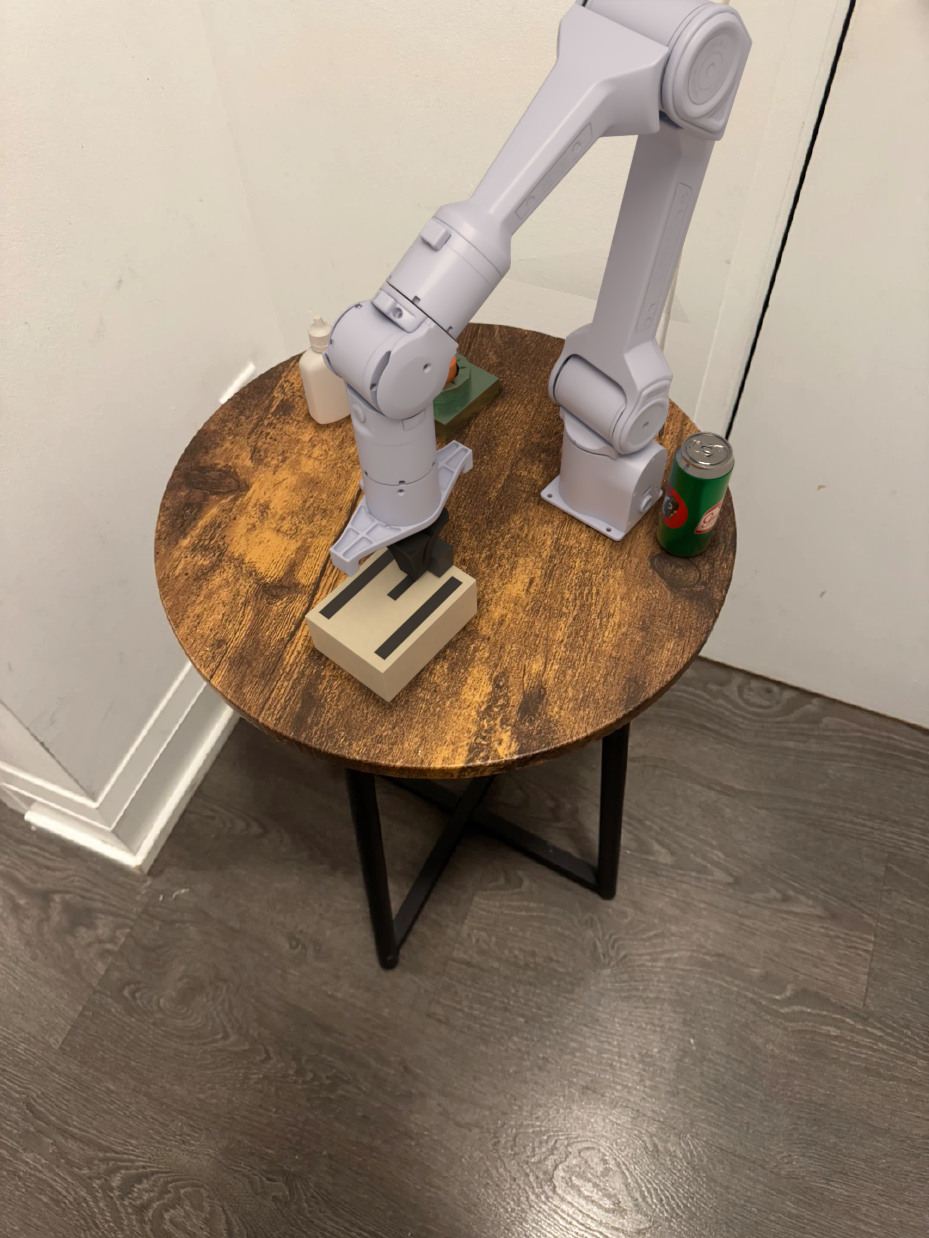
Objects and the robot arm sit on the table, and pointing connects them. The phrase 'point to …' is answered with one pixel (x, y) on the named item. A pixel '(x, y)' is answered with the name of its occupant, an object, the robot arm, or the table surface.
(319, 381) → the eye dropper bottle
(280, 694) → the table surface
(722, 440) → the soda can
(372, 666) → the toaster
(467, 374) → the panel
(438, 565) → the block
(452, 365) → the button
